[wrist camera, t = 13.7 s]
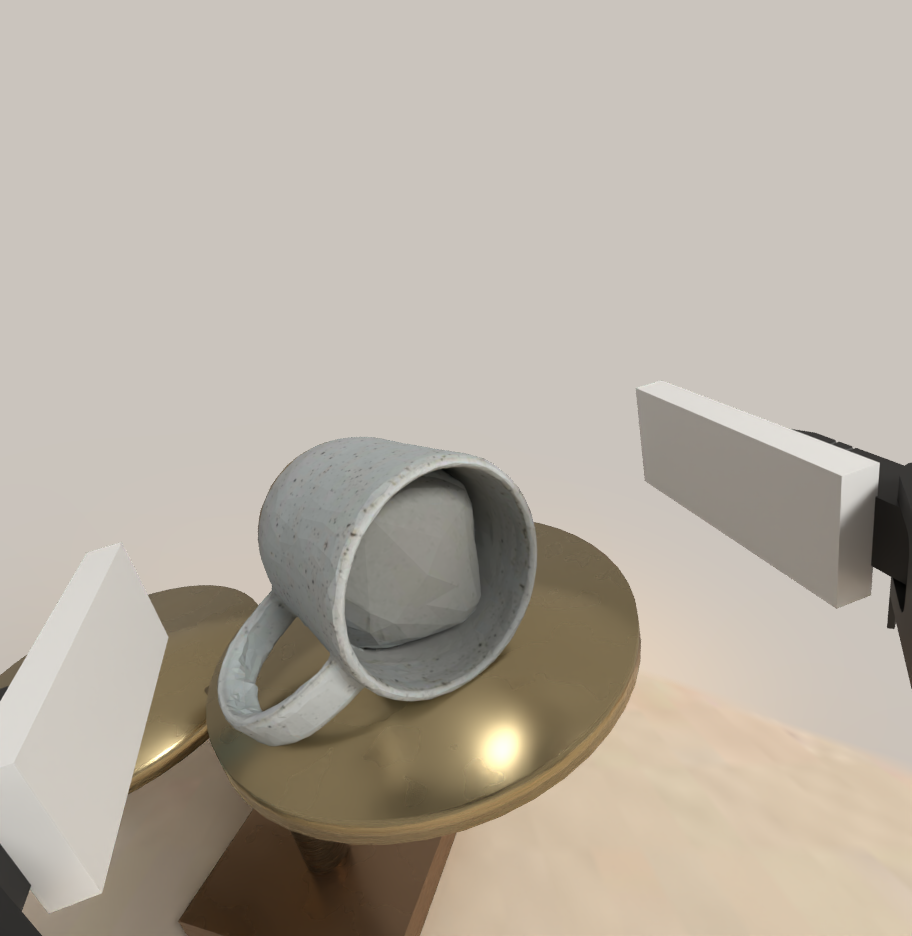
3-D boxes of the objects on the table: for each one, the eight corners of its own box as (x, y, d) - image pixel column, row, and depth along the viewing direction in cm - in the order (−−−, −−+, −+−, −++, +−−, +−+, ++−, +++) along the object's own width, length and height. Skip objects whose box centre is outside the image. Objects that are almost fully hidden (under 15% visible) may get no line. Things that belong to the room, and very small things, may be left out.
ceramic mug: (425, 550, 29) (380, 392, 26) (557, 618, 22) (519, 420, 19) (201, 687, 23) (110, 509, 20) (294, 826, 17) (182, 599, 14)
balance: (-7, 945, 35) (-205, 707, 28) (191, 719, 48) (91, 520, 41) (662, 1212, 21) (605, 877, 14) (679, 794, 34) (654, 515, 27)
